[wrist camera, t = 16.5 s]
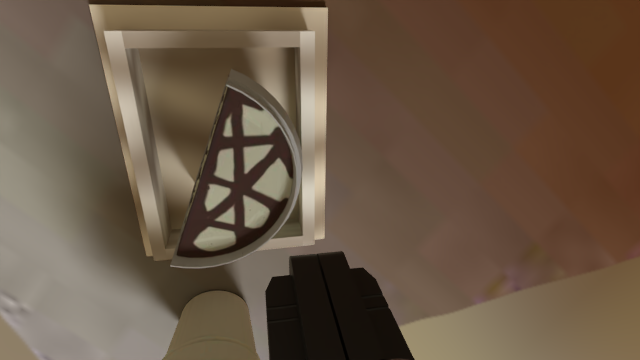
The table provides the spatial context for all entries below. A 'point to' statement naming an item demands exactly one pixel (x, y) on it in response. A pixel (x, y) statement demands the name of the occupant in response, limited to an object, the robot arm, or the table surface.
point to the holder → (209, 101)
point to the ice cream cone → (213, 329)
